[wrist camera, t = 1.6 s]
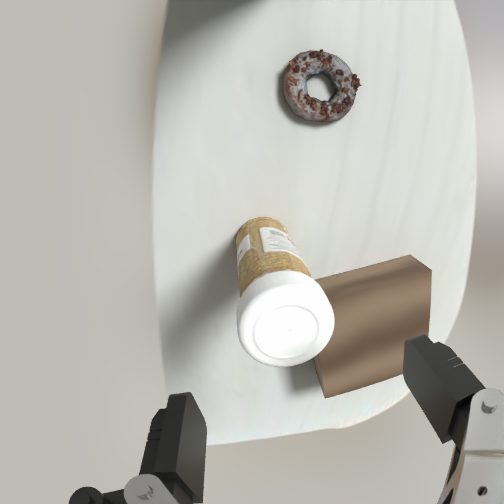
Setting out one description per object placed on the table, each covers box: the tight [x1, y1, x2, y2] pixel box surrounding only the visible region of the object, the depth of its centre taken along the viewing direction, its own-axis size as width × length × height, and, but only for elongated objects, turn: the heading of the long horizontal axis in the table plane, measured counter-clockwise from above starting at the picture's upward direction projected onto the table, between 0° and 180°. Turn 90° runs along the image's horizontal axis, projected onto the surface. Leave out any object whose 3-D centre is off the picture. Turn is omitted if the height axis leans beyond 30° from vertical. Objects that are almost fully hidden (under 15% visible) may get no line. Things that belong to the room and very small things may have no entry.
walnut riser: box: [314, 255, 432, 398], centre depth 28 cm, size 11×11×4 cm
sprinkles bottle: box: [236, 217, 334, 367], centre depth 20 cm, size 5×5×14 cm
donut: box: [283, 49, 361, 122], centre depth 22 cm, size 8×8×2 cm
